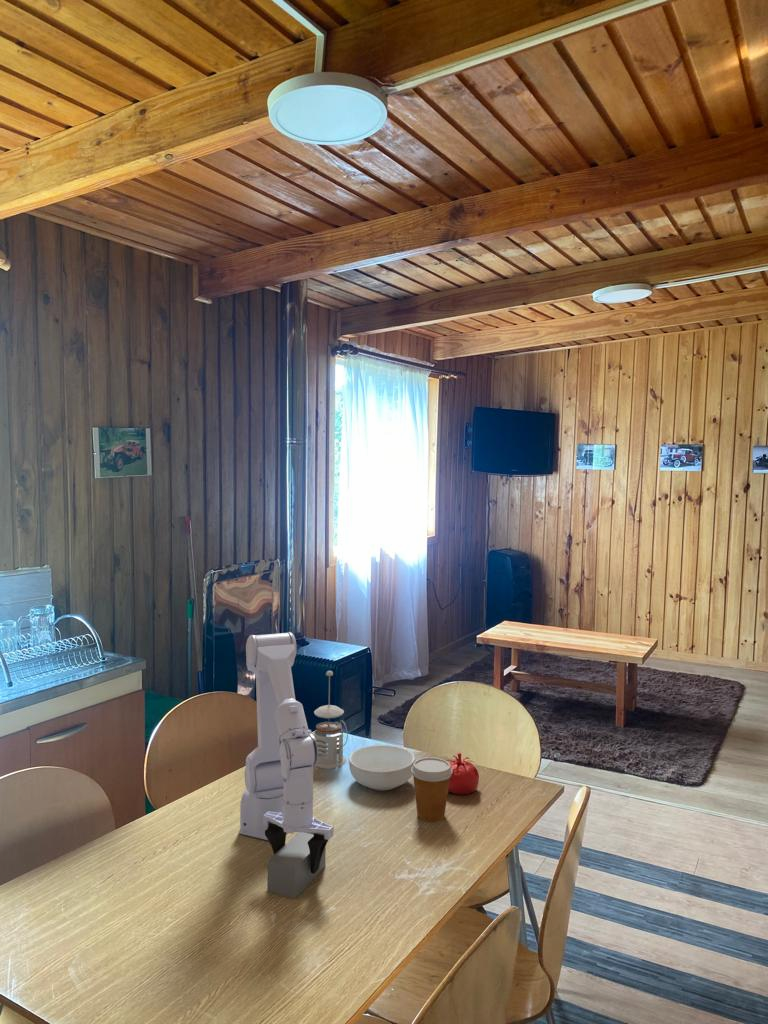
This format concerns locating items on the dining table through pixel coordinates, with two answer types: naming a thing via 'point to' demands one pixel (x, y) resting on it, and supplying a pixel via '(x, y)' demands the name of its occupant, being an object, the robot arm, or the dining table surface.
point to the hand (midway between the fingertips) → (297, 866)
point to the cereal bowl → (381, 766)
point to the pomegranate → (463, 776)
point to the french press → (332, 755)
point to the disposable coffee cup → (431, 787)
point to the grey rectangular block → (292, 867)
